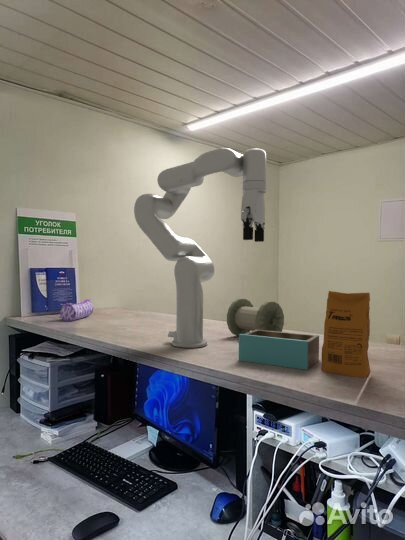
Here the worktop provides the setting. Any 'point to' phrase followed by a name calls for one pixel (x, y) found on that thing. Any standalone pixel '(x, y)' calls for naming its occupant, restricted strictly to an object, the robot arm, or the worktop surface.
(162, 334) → the worktop surface
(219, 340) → the worktop surface
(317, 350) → the crate
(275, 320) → the spool
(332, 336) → the coffee package
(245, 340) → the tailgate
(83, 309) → the pencil case
